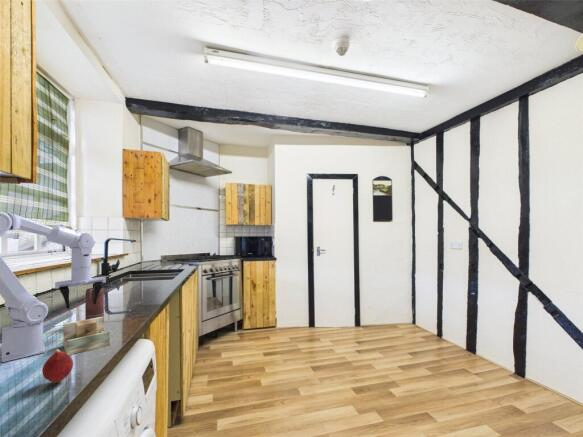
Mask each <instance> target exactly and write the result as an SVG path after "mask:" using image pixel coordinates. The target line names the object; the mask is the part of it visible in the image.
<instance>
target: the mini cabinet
mask: <svg viewBox="0 0 583 437" xmlns="http://www.w3.org/2000/svg"><path fill="white" fill-rule="evenodd" d="M80 321H81V322H76V321H74V322H75V338H80V337H85V336H89V335H94V334H97V322H96V321H95V320H94V319H91V320H86V321H82V320H80Z"/></svg>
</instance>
